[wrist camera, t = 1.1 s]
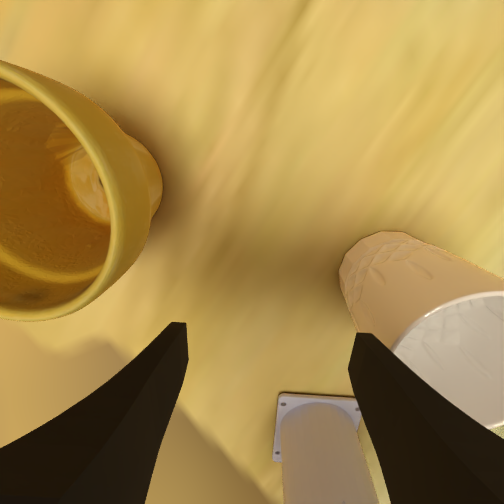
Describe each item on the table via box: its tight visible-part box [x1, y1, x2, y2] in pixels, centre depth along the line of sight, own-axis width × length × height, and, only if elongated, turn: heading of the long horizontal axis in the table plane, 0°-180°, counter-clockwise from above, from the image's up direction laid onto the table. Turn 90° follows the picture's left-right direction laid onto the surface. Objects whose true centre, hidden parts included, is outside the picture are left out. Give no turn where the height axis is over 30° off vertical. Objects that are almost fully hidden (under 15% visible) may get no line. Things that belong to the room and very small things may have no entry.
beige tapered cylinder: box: [339, 231, 504, 429], centre depth 16 cm, size 8×8×10 cm
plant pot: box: [0, 60, 163, 322], centre depth 15 cm, size 10×10×10 cm
